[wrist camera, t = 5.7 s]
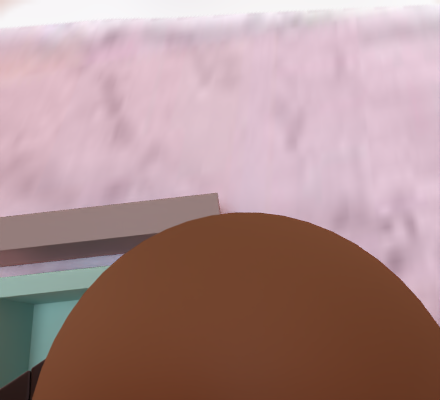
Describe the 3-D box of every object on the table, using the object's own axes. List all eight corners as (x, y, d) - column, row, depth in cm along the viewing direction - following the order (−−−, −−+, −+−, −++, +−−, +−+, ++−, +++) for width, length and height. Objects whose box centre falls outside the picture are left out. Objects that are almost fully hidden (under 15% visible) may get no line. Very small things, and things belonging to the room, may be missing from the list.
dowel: (256, 447, 13) (340, 977, 2) (171, 376, 14) (-71, 484, 3) (312, 350, 14) (558, 368, 3) (229, 291, 15) (201, 149, 4)
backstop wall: (223, 242, 23) (220, 225, 20) (-22, 269, 23) (-64, 257, 20) (220, 213, 24) (217, 192, 21) (-17, 239, 24) (-57, 223, 21)
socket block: (178, 445, 19) (161, 473, 15) (11, 462, 19) (-52, 495, 15) (170, 275, 23) (154, 260, 18) (28, 291, 23) (-20, 279, 18)
